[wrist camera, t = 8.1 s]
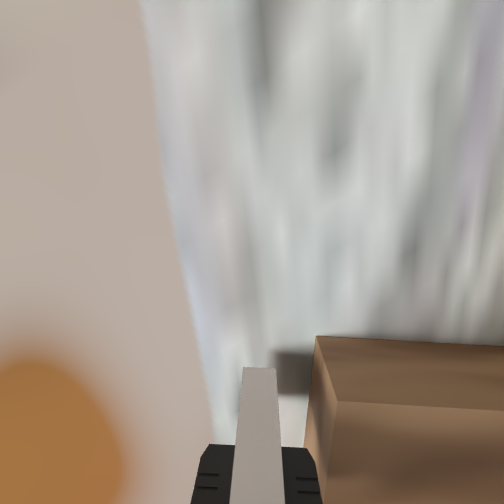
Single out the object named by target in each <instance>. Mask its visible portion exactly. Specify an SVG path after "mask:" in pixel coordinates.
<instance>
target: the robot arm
mask: <svg viewBox="0 0 504 504" xmlns="http://www.w3.org/2000/svg"><path fill="white" fill-rule="evenodd" d="M191 504H323V502H322V497H321V491H320V486H319V482H318V475H317V469H316V464H315V461H314V459H313V458H312V456H311V454H310V452H309V451H308V449H307V448H295V447H281V437H280V422H279V407H278V392H277V378H276V369H274V368H251V367H243V374H242V384H241V394H240V404H239V414H238V424H237V434H236V444H235V445H219V444H209V446H208V447H207V448H206V450H205V451H204V453H203V455H202V456H201V458H200V463H199V468H198V472H197V477H196V481H195V486H194V490H193V495H192V500H191Z"/></svg>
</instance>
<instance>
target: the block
mask: <svg viewBox="0 0 504 504" xmlns="http://www.w3.org/2000/svg"><path fill="white" fill-rule="evenodd" d="M303 448H307V449H308V451H309V452H310V454H311V456H312V458H313V459H314V461H315V464H316V469H317V475H318V482H319V486H320V491H321V497H322V502H323V504H504V346H486V345H469V344H451V343H433V342H416V341H398V340H380V339H363V338H345V337H327V336H316V339H315V348H314V357H313V366H312V375H311V384H310V393H309V402H308V411H307V420H306V429H305V438H304V447H303Z"/></svg>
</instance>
